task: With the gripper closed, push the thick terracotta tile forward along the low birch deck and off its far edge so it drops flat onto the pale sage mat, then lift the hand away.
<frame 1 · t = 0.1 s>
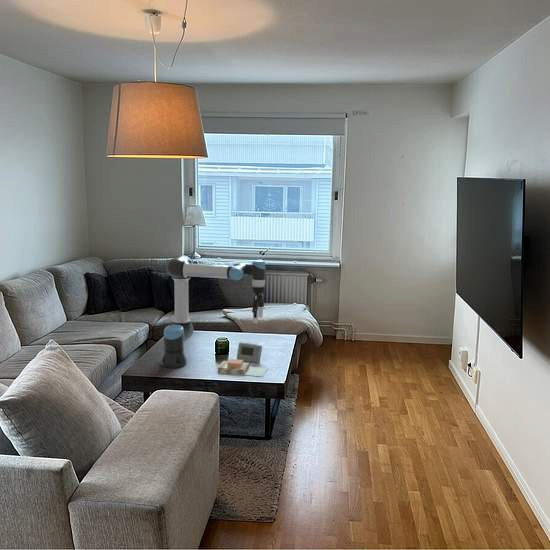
hand: (257, 320, 332), 28 cm above the table, tool pointing down, fingers open, 13 cm apart
digital clock: (249, 360, 343), on the table
sage mat: (256, 372, 323), on the table
birch deck: (233, 370, 325), on the table
terracotta tile: (235, 365, 325), point 3 cm above the table, touching birch deck
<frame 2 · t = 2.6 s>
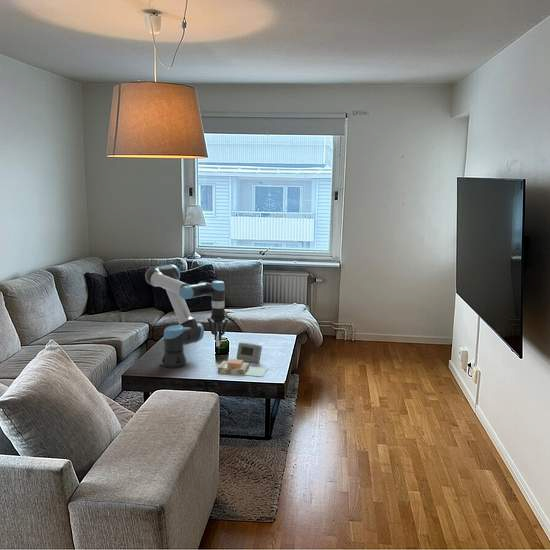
hand: (218, 345, 324), 14 cm above the table, tool pointing down, fingers closed
nothing on the table moved.
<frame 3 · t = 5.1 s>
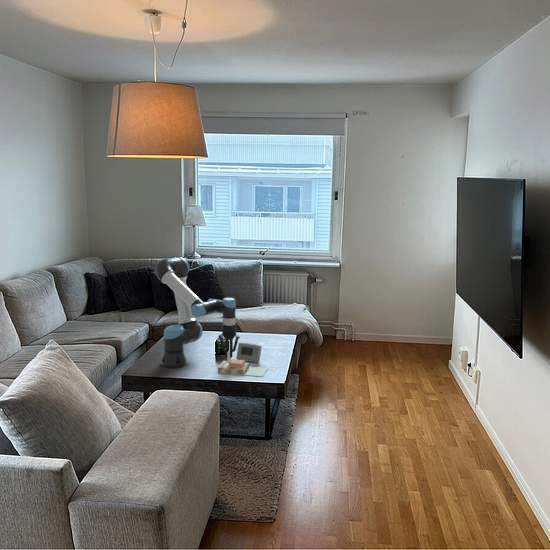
hand: (229, 362, 325), 5 cm above the table, tool pointing down, fingers closed
nothing on the table moved.
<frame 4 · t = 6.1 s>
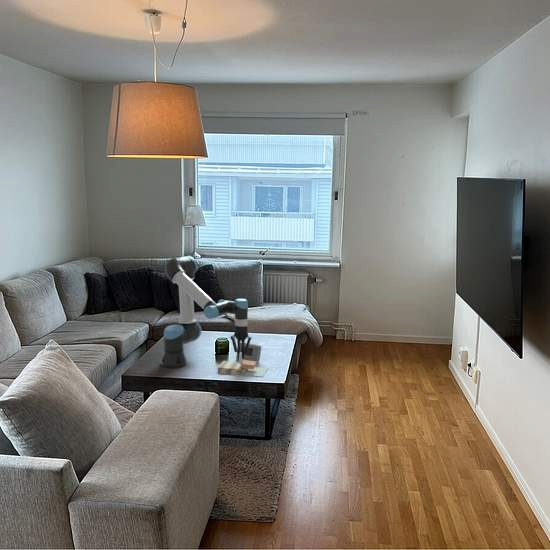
hand: (240, 363, 324), 4 cm above the table, tool pointing down, fingers closed
terracotta tile: (248, 366, 323), point 3 cm above the table, touching gripper
everything else where it was.
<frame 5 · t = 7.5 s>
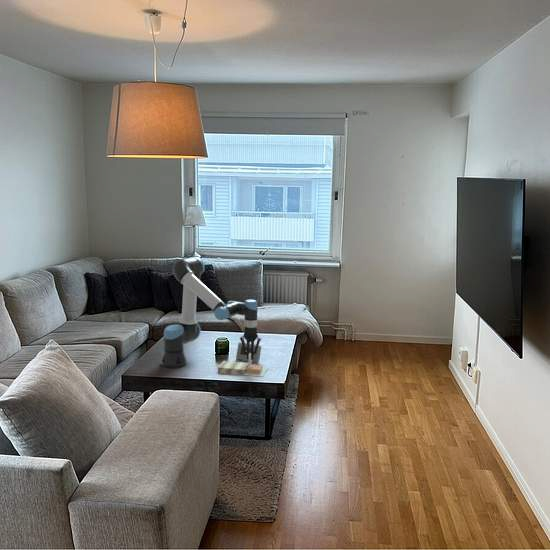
hand: (250, 364, 323), 4 cm above the table, tool pointing down, fingers closed
terracotta tile: (254, 371, 323), resting on sage mat
everything else where it was.
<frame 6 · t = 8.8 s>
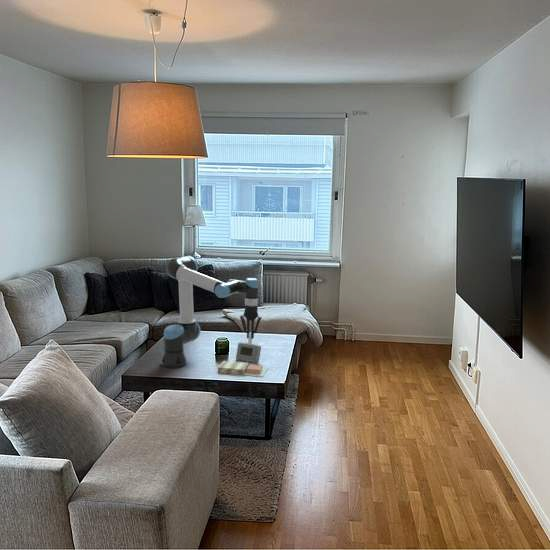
hand: (250, 343, 321), 17 cm above the table, tool pointing down, fingers closed
nothing on the table moved.
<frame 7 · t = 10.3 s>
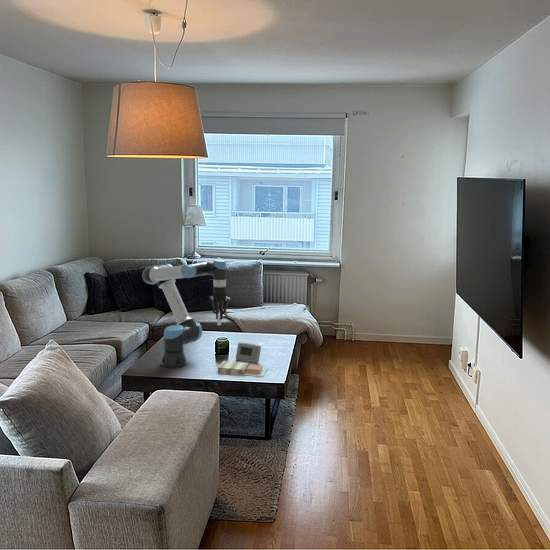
hand: (219, 324, 325), 26 cm above the table, tool pointing down, fingers closed
nothing on the table moved.
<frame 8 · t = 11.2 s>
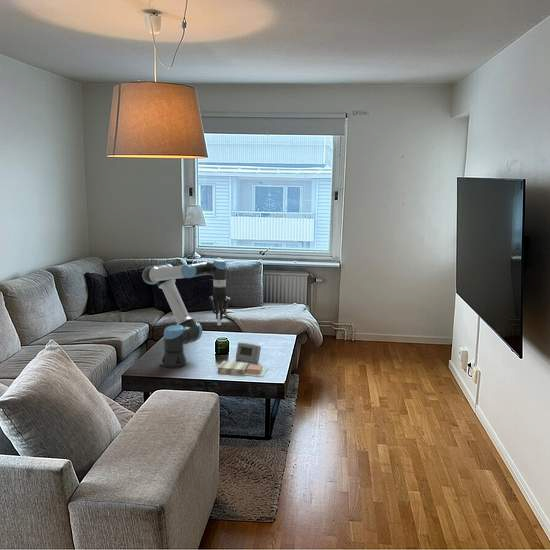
hand: (219, 324, 325), 26 cm above the table, tool pointing down, fingers closed
nothing on the table moved.
at the end: terracotta tile inside the target area (1.1 cm from its centre), resting on sage mat; terracotta tile tilted 0° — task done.
